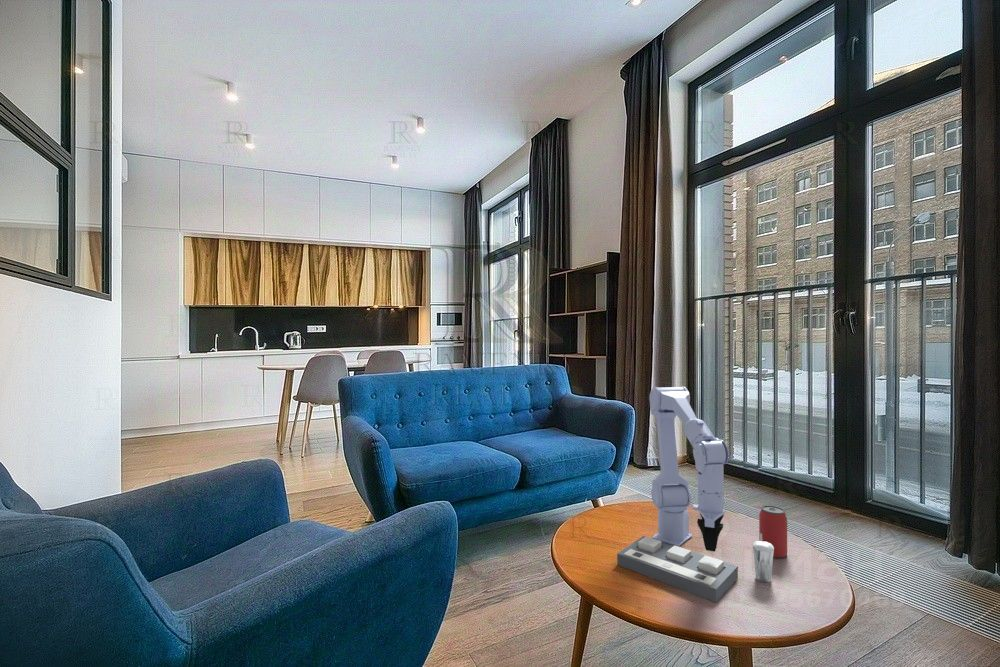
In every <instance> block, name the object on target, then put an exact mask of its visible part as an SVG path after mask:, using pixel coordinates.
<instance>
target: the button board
mask: <svg viewBox="0 0 1000 667" xmlns="http://www.w3.org/2000/svg"><path fill="white" fill-rule="evenodd" d="M644 537H646V536H645V535H642V536H641V537H640V538H638V539H636V540H635V541H633V542H632V543H630V544H629V545H628V546H626V547H624V548H623V549H621V550H620V551H619V552H617V554H616V557H617V558H616V560H617V561H616V562H617V564H616V565H617V566H619V567H623V569H624V568H625V569H627V570H630V571H633V572H635V573H638V574H641V575H643V576H646V577H648V578H650V579H654V580H656V581H660V582H661V583H664V584H667V585H669V586H671V587H675V588H677V589H680V590H682V591H685V592H688V593H689V594H692V595H695V596H698V597H701V598H704V599H706V600H709V601H711V602H713V603H717V602H718V601H719V600H720V599H721V598H722V597H723V596H724V594H725V593H727V591H729V589H730V588H731V587H732V586H733V584H735V582H736V581H737V580H738V579H739V570H738V569H739V566H738V565H735V564H732V563H730V562H726V561H724V570H723V571H722V572H721V573H720V574H719V575H716V574H713V573H710V572H707V571H704V570H701V569H698V562H699V561H700V560H701V559H702V558H703V557H704V556H705V555H704V554H701V553H698V552H694V551H692V550H691V559H690V560H689V561H688V562H686V563H685V564H683V563H681V562H678V561H675V560H672V559H669V558H667V551H668V550H669V549H670V548H672V547H673V546H674V545H672V544H668V543H665V542H662V541H661V547H662V548H661V549H660V550H659V551H657V552H656V553H655V554H654V553H651V552H648V551H646V550H643V549H640V548H638V541H640V540H641V539H643V538H644Z"/></svg>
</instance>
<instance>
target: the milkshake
mask: <svg viewBox="0 0 1000 667" xmlns="http://www.w3.org/2000/svg"><path fill="white" fill-rule="evenodd" d="M752 551H753V552H752V553H753V559H754V572H755V579H756V580H757V581H758V582H760V583H764V584H765V583H767V584H769V583H770V582H772V575H773V563H774V562H773V560H774V557H773V554H774V547H773V545H772V544H771V543H768V542H764V541H762V534H761V533H760V541H759V540H755V541H754V542H753V543H752Z"/></svg>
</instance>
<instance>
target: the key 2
mask: <svg viewBox="0 0 1000 667" xmlns="http://www.w3.org/2000/svg"><path fill="white" fill-rule="evenodd" d="M724 562H725V560H721V559H718V558H715V557H713V556H708V555H706V554H705V555H704V557H703V558H702V559H701V560H700V561H699V562H698V569H701V570H704V571H707V572H710V573H713V574H716V575H719V574H720V573H721V572H722V571H723V570H724Z"/></svg>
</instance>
